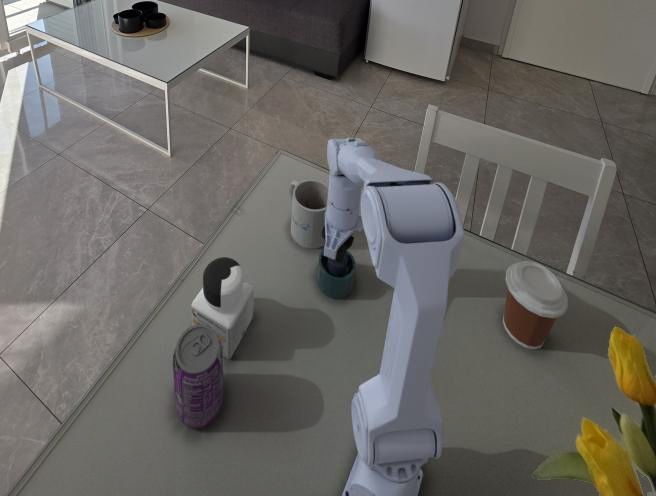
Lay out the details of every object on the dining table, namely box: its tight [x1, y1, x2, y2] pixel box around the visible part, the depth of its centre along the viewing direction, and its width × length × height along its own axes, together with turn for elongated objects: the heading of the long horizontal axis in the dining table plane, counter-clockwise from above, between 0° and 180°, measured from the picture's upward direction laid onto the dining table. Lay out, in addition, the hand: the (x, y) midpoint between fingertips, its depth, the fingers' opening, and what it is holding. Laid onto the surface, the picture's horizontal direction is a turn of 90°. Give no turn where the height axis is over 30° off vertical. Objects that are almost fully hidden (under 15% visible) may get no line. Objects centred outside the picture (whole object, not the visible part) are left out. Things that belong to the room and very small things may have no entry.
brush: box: [327, 255, 347, 277], centre depth 80 cm, size 4×4×9 cm
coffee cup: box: [502, 260, 569, 350], centre depth 74 cm, size 9×9×12 cm
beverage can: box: [172, 324, 224, 430], centre depth 63 cm, size 7×7×12 cm
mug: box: [289, 179, 329, 250], centre depth 93 cm, size 12×9×10 cm
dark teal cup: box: [316, 248, 357, 300], centre depth 82 cm, size 7×7×5 cm
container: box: [191, 256, 254, 360], centre depth 72 cm, size 8×8×13 cm
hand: (337, 254), depth 81 cm, fingers closed on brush
